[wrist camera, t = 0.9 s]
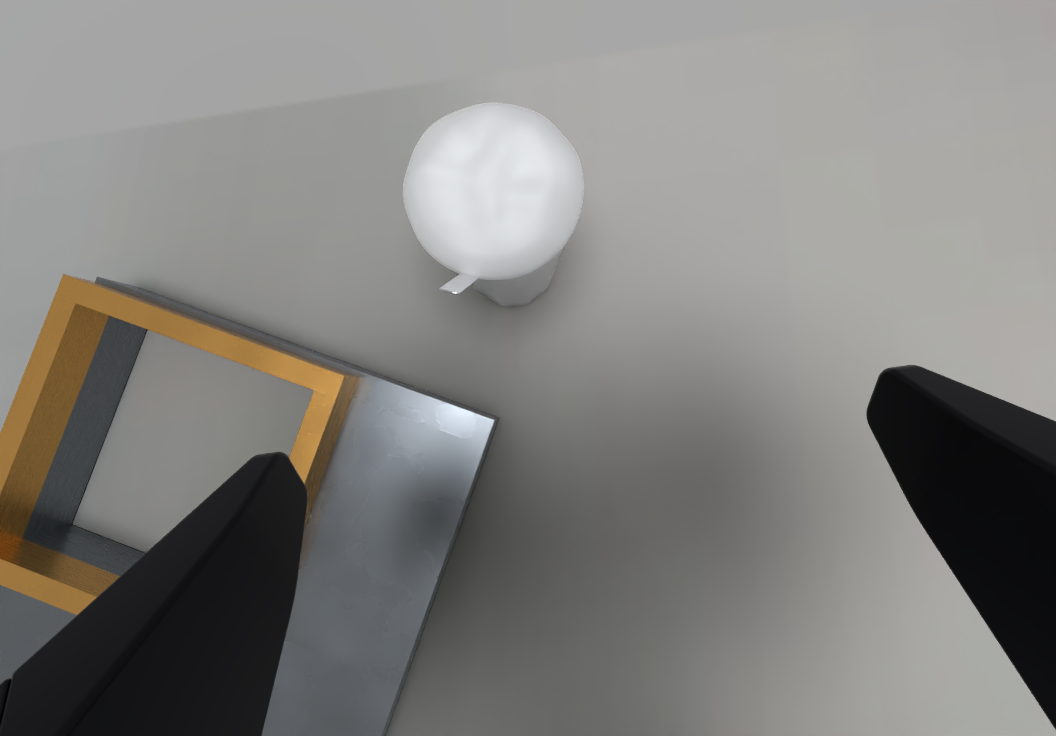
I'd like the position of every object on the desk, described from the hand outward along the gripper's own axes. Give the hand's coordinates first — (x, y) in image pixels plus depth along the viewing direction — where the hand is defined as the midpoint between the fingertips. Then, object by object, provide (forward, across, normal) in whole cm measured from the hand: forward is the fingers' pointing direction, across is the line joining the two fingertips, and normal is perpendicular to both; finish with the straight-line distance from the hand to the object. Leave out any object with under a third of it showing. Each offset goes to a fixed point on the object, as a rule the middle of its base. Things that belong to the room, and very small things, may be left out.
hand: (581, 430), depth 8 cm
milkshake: (+14, +1, +4) cm, 14 cm away
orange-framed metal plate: (+7, +14, +12) cm, 19 cm away
